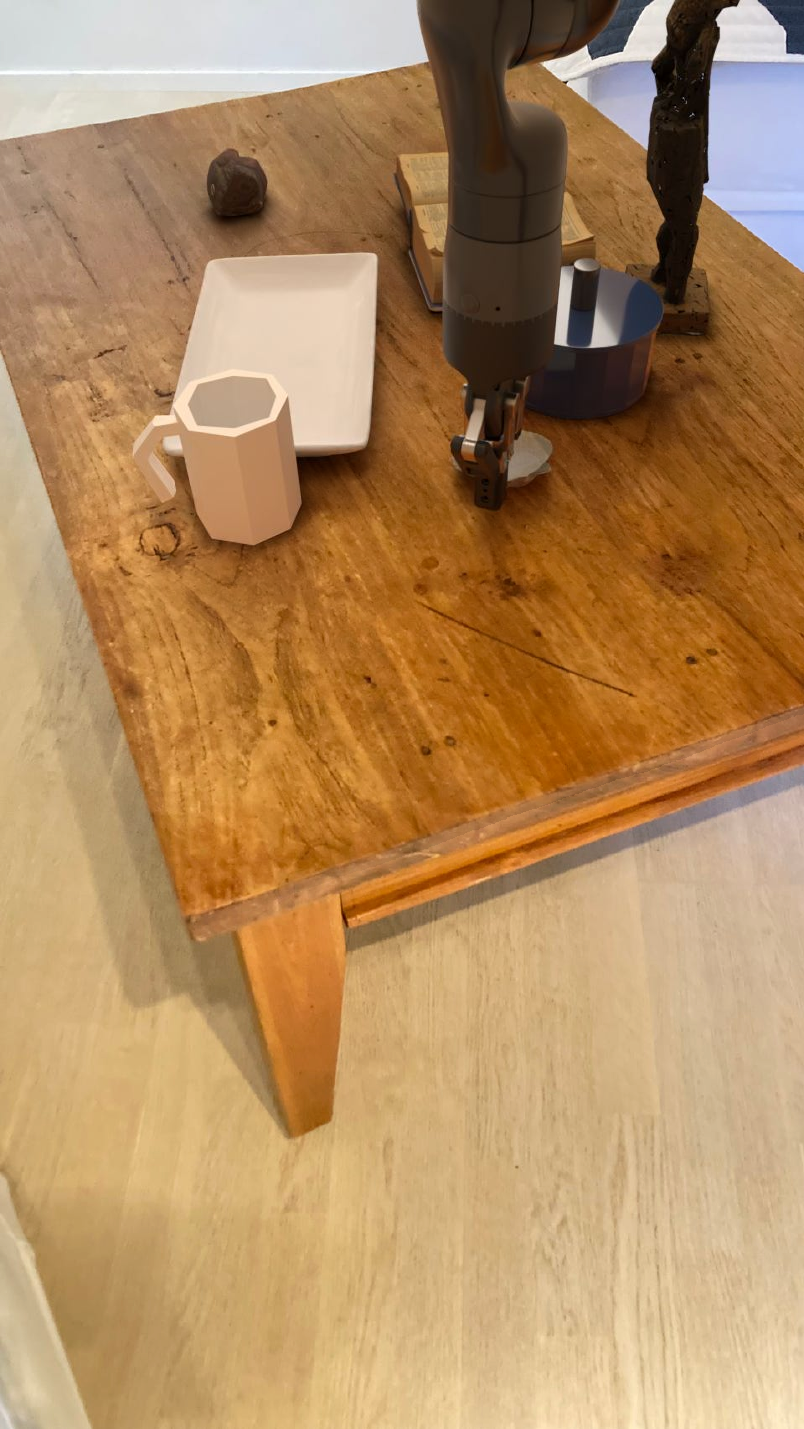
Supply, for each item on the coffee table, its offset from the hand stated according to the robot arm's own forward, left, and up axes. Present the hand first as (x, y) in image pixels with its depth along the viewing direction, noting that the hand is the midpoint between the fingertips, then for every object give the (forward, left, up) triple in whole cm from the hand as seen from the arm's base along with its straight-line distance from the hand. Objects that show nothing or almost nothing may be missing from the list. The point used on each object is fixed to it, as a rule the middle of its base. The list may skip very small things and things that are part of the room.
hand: (489, 503), depth 81 cm
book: (+14, -42, -1) cm, 44 cm away
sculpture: (-6, -35, -1) cm, 35 cm away
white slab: (+24, -13, -1) cm, 27 cm away
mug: (+20, +6, -1) cm, 21 cm away
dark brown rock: (+43, -42, -1) cm, 60 cm away
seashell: (+1, -5, -1) cm, 6 cm away
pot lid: (-1, -21, +5) cm, 21 cm away
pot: (-1, -21, -1) cm, 21 cm away
